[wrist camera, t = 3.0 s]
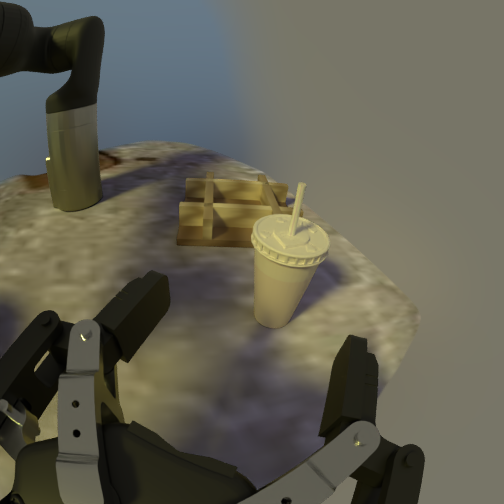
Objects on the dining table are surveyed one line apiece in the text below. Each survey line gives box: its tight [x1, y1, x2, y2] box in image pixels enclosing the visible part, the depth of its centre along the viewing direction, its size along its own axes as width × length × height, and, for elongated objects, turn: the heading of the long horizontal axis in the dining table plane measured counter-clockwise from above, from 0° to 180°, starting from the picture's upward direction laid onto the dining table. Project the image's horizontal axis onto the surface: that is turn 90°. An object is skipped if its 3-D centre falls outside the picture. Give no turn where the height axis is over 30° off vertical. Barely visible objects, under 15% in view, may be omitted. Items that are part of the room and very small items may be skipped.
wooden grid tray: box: [177, 172, 303, 248], centre depth 42 cm, size 17×17×4 cm
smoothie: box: [251, 183, 330, 328], centre depth 23 cm, size 6×6×14 cm
